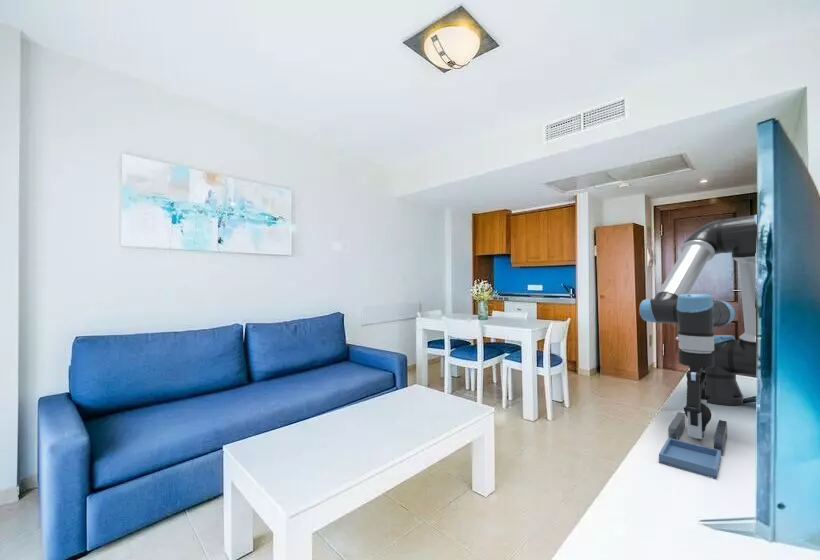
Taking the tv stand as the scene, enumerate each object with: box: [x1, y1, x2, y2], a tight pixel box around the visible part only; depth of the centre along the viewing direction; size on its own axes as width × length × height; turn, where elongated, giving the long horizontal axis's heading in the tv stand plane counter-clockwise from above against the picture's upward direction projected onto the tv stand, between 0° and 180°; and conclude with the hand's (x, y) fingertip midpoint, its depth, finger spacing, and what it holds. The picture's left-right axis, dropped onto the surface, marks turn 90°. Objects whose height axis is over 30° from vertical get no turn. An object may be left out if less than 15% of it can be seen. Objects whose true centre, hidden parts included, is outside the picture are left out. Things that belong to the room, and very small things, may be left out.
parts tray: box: [658, 437, 722, 479], centre depth 82 cm, size 12×10×2 cm
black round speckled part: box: [684, 403, 713, 441], centre depth 93 cm, size 6×6×10 cm
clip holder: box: [667, 411, 728, 457], centre depth 93 cm, size 16×11×4 cm
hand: (698, 429), depth 93 cm, fingers open, 13 cm apart
